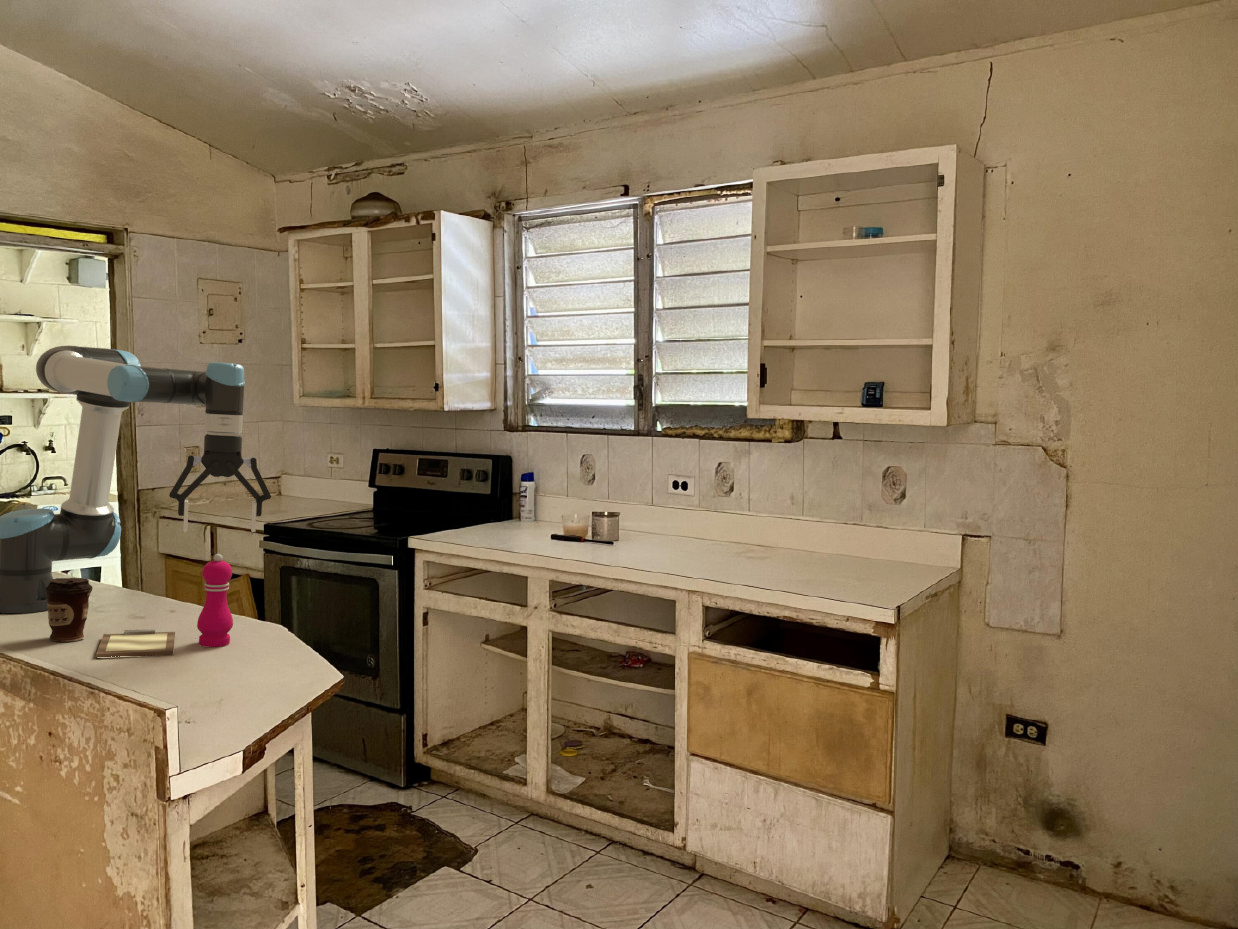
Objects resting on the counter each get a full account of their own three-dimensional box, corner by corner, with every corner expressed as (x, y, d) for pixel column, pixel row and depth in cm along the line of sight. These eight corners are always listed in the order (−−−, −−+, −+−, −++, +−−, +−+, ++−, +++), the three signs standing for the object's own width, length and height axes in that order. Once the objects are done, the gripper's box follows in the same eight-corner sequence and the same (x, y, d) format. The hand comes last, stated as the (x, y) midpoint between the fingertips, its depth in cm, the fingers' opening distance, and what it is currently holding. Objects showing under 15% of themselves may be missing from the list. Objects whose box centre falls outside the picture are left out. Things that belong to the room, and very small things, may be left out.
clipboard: (103, 638, 198) (103, 630, 198) (174, 636, 204) (175, 628, 204) (95, 659, 184) (96, 650, 184) (173, 655, 190) (173, 646, 190)
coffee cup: (67, 646, 191) (69, 585, 190) (33, 641, 193) (35, 581, 192) (98, 636, 200) (100, 578, 199) (66, 632, 201) (68, 574, 201)
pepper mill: (239, 642, 203) (243, 553, 201) (215, 649, 196) (219, 557, 195) (213, 637, 205) (217, 550, 204) (188, 645, 198) (192, 554, 197)
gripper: (158, 432, 189) (155, 533, 190) (285, 437, 200) (281, 533, 201) (159, 430, 196) (156, 528, 197) (282, 435, 206) (279, 528, 207)
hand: (219, 531), depth 199 cm, fingers open, 13 cm apart
